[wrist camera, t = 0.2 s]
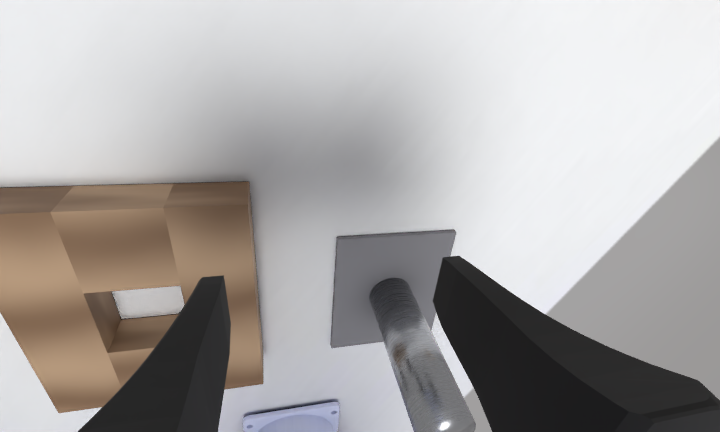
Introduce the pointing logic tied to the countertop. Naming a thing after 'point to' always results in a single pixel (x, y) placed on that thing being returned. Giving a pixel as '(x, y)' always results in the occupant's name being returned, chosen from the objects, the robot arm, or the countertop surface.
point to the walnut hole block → (120, 277)
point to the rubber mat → (383, 278)
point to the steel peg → (418, 361)
